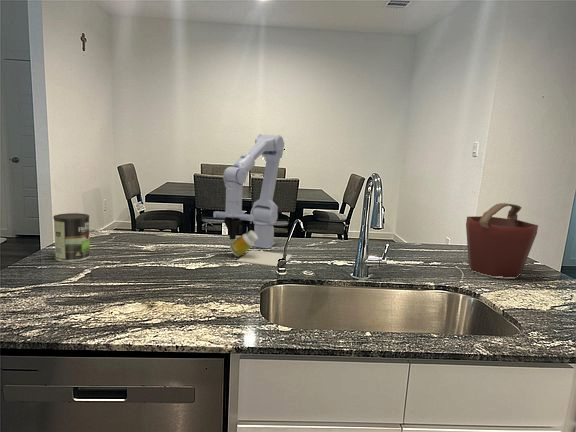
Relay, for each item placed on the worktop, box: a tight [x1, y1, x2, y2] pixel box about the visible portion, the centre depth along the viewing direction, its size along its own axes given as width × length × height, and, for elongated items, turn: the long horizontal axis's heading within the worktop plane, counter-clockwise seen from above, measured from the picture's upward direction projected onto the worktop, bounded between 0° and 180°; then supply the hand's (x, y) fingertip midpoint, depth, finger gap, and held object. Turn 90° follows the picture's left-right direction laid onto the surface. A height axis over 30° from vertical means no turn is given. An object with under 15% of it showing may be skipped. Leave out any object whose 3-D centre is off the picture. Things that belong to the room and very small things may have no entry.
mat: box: [236, 249, 294, 268], centre depth 148 cm, size 16×16×1 cm
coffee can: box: [52, 212, 91, 263], centre depth 135 cm, size 10×10×14 cm
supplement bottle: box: [229, 230, 258, 258], centre depth 148 cm, size 5×5×10 cm
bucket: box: [465, 202, 539, 277], centre depth 146 cm, size 24×22×25 cm
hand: (232, 238), depth 148 cm, fingers closed
